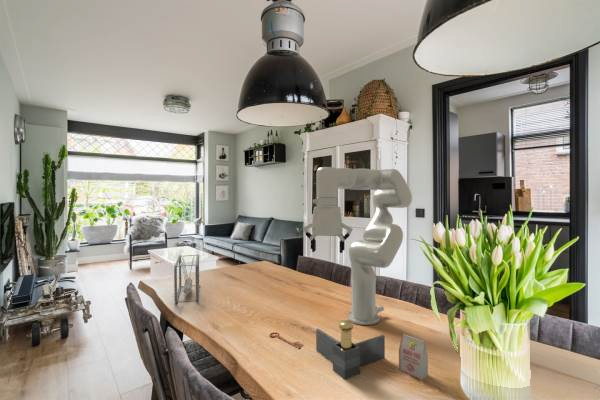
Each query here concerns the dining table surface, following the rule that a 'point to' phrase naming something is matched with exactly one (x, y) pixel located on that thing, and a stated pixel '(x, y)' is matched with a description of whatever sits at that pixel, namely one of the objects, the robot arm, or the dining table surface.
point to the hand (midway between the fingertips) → (327, 251)
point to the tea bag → (413, 357)
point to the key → (288, 341)
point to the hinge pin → (346, 334)
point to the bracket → (350, 353)
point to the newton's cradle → (188, 281)
